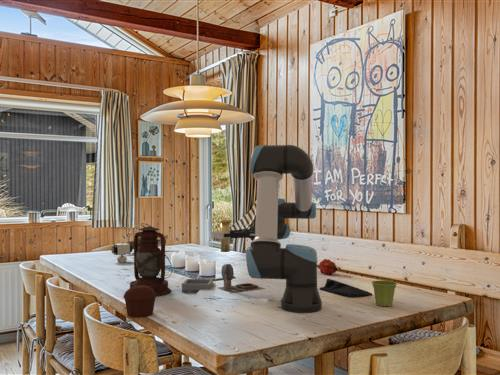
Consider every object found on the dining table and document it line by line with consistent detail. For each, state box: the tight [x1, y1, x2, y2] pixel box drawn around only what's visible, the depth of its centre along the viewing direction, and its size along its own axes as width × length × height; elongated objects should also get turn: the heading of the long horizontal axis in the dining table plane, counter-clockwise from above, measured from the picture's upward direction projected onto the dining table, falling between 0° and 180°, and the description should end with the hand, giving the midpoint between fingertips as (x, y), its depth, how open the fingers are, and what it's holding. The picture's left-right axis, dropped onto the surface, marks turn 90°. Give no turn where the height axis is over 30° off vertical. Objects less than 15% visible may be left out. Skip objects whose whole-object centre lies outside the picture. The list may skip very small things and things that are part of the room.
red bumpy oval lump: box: [317, 258, 338, 276], centre depth 254 cm, size 8×8×12 cm
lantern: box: [129, 222, 173, 298], centre depth 211 cm, size 19×19×30 cm
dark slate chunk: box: [319, 278, 373, 298], centre depth 211 cm, size 15×22×5 cm
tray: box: [181, 278, 214, 293], centre depth 217 cm, size 12×12×4 cm
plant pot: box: [371, 279, 398, 307], centre depth 188 cm, size 9×9×9 cm
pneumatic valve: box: [110, 241, 134, 263], centre depth 296 cm, size 6×12×12 cm, turn 125°
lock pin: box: [219, 219, 232, 253], centre depth 217 cm, size 5×5×14 cm
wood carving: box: [123, 234, 169, 250], centre depth 341 cm, size 9×35×11 cm, turn 132°
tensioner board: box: [217, 263, 266, 294], centre depth 212 cm, size 13×17×12 cm
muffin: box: [122, 285, 157, 319], centre depth 174 cm, size 12×11×10 cm
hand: (214, 235), depth 214 cm, fingers closed on lock pin, 4 cm apart
